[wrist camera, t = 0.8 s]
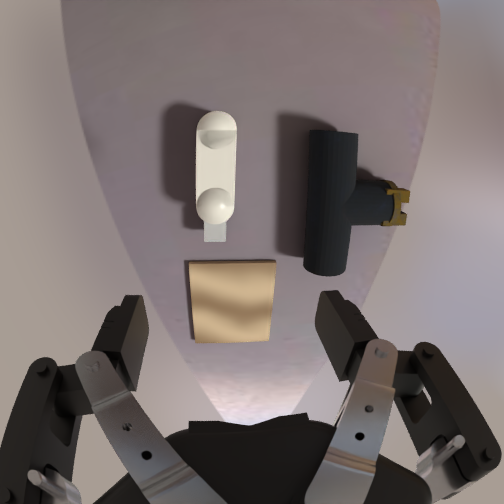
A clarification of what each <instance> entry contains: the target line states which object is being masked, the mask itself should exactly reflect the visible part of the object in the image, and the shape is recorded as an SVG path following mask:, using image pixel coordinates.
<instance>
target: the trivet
mask: <svg viewBox="0 0 504 504" xmlns="http://www.w3.org/2000/svg"><path fill="white" fill-rule="evenodd" d="M275 273H276V261H275V260H274V261H198V262H189V274H190V288H191V301H192V313H193V323H194V334H195V343H231V342H255V341H269V333H270V323H271V314H272V304H273V294H274V284H275Z"/></svg>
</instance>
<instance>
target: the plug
mask: <svg viewBox="0 0 504 504" xmlns="http://www.w3.org/2000/svg"><path fill="white" fill-rule="evenodd" d="M236 137H237V127H236V123H235V121H234V119H233V118H232V117H231V116H230V115H229V114H227V113H225V112H222V111H212V112H209V113H207V114H206V115H204V116H203V117H202V118H201V119H200V121H199V123H198V125H197V135H196V210H197V213H198V215H199V217H200V218H201V219H202V220H203V221H204V242H226V221H227V220H228V219H229V218H230V217H231V215H232V213H233V211H234V195H235V163H236Z"/></svg>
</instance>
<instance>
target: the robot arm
mask: <svg viewBox="0 0 504 504" xmlns="http://www.w3.org/2000/svg"><path fill="white" fill-rule="evenodd" d="M148 326H149V325H148V319H147V315H146V310H145V305H144V300H143V297H142V295H126V296H125V297H124V299H123V301H122V303H121V306H114V307H113V308H112V309H111V310H110V311H109V312H108V313H107V315H106V317H105V320H104V322H103V324H102V326H101V329H100V331H99V333H98V335H97V338H96V340H95V342H94V345H93V347H92V349H91V351H89V352H86V353H84V354H82V355H81V356H80V357H79V358H78V359H77V361H76V364H72V365H66V366H57V364H56V362H55V361H54V360H53V359H51V358H48V357H43V358H39V359H37V360H36V361H34V362H33V363H32V364H31V366H30V367H29V369H28V372H27V374H26V376H25V379H24V381H23V383H22V386H21V388H20V391H19V393H18V396H17V398H16V401H15V404H14V407H13V409H12V412H11V415H10V418H9V421H8V424H7V427H6V430H5V433H4V437H3V440H2V444H1V447H0V504H82V503H81V496H80V492H79V490H78V489H77V488H76V486H75V485H74V484H73V483H72V474H73V466H74V458H75V453H76V446H77V440H78V435H79V429H80V424H81V420H82V415H87V414H95V416H96V418H97V420H98V422H99V424H100V426H101V428H102V430H103V431H104V433H105V435H106V437H107V439H108V440H109V442H110V444H111V445H112V447H113V449H114V450H115V452H116V454H117V455H118V457H119V458H120V460H121V462H122V463H123V465H124V466H125V468H126V469H127V471H128V473H127V474H126V475H125V476H124V477H122V478H121V479H120V480H119V481H118V482H117V483H116V484H115V485H114V486H113V487H111V488H110V489H109V490H108V491H107V492H106V493H105V494H104V495H103V496H101V497H100V498H99V499H98V500H97V501H95V502H94V503H93V504H433V503H435V502H437V501H439V500H440V499H448V498H450V497H452V496H454V495H456V494H457V493H459V492H461V491H462V490H464V489H466V488H467V487H469V486H470V485H472V484H473V483H475V482H476V481H478V480H479V479H481V478H482V477H484V476H485V475H487V474H488V473H489V472H491V471H492V470H493V469H495V468H496V467H497V466H498V464H499V463H500V460H501V449H500V446H499V444H498V442H497V440H496V439H495V437H494V435H493V433H492V431H491V429H490V428H489V426H488V424H487V422H486V421H485V419H484V417H483V415H482V414H481V412H480V410H479V409H478V407H477V405H476V404H475V403H474V401H473V399H472V397H471V396H470V394H469V393H468V391H467V389H466V388H465V386H464V385H463V383H462V382H461V380H460V379H459V377H458V376H457V374H456V373H455V371H454V370H453V368H452V367H451V365H450V364H449V363H448V361H447V360H446V358H445V357H444V356H443V354H442V353H441V351H440V350H439V349H438V348H437V347H436V346H435V345H433V344H431V343H428V342H420V343H418V344H417V345H416V346H415V348H414V350H413V351H398V350H397V349H396V347H395V346H394V345H393V344H392V343H391V342H389V341H387V340H383V339H379V338H378V337H377V335H376V334H375V332H374V331H373V329H372V328H371V326H370V325H369V323H368V322H367V320H365V317H364V316H363V315H362V314H361V312H360V310H359V309H358V307H357V306H356V305H355V304H353V303H352V302H350V301H349V300H344V298H343V297H342V295H341V294H340V292H339V291H338V290H333V291H322V292H321V293H320V297H319V302H318V307H317V312H316V316H315V327H316V331H317V333H318V335H319V337H320V340H321V342H322V344H323V346H324V348H325V351H326V353H327V355H328V357H329V359H330V362H331V364H332V366H333V368H334V370H335V373H336V375H337V377H338V379H339V382H340V381H345V380H349V382H350V385H349V388H348V390H347V393H346V395H345V398H344V400H343V403H342V405H341V408H340V410H339V412H338V414H337V417H336V419H335V421H334V423H333V425H330V424H327V423H323V422H319V421H314V420H309V418H308V415H307V413H301V414H294V415H287V416H279V417H276V418H273V419H270V420H267V421H264V422H261V423H258V424H254V425H249V426H248V425H240V424H234V423H228V422H221V421H189V429H185V430H181V431H178V432H176V433H173V434H171V435H169V436H168V437H166V438H164V437H163V436H162V434H161V433H160V432H159V431H158V429H157V428H156V427H155V425H154V424H153V423H152V421H151V420H150V419H149V417H148V416H147V415H146V413H145V412H144V410H143V409H142V408H141V406H140V405H139V403H138V402H137V400H136V399H135V397H134V396H133V394H132V393H131V392H130V391H136V389H137V384H138V379H139V375H140V370H141V365H142V360H143V356H144V352H145V347H146V343H147V339H148V334H149V327H148ZM424 386H425V388H426V390H427V392H428V393H429V395H430V397H431V401H432V404H430V402H429V401H428V399H427V397H426V395H425V393H424V392H423V390H422V389H423V388H424ZM393 399H394V401H395V404H396V406H397V408H398V410H399V412H400V414H401V416H402V419H403V421H404V423H405V425H406V427H407V430H408V432H409V434H410V437H411V439H412V441H413V443H414V446H415V448H416V450H417V453H418V455H419V458H418V460H417V469H416V472H415V473H414V472H412V471H410V470H408V469H406V468H404V467H402V466H401V465H399V464H397V463H395V462H393V461H391V460H390V459H388V458H386V457H384V456H382V455H381V454H379V451H380V448H381V445H382V441H383V437H384V435H385V431H386V427H387V423H388V420H389V416H390V412H391V408H392V403H393Z"/></svg>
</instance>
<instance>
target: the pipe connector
mask: <svg viewBox="0 0 504 504" xmlns="http://www.w3.org/2000/svg"><path fill="white" fill-rule="evenodd" d="M357 153H358V134H355V133H347V132H337V131H324V130H310V139H309V176H308V199H307V218H306V234H305V248H304V261H303V266H304V268H305V269H306V270H307V271H309V272H311V273H313V274H316V275H320V276H337V275H340V274H342V273H343V272H344V271H345V269H346V263H347V256H348V249H349V242H350V234H351V225H380V226H392V225H405V224H406V217H407V214H406V213H404V212H402V211H401V202H402V203H409V197H410V191H409V190H406V189H404V188H397V186H396V184H395V183H394V182H392V181H388V180H380V181H369V180H356V170H357Z"/></svg>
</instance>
